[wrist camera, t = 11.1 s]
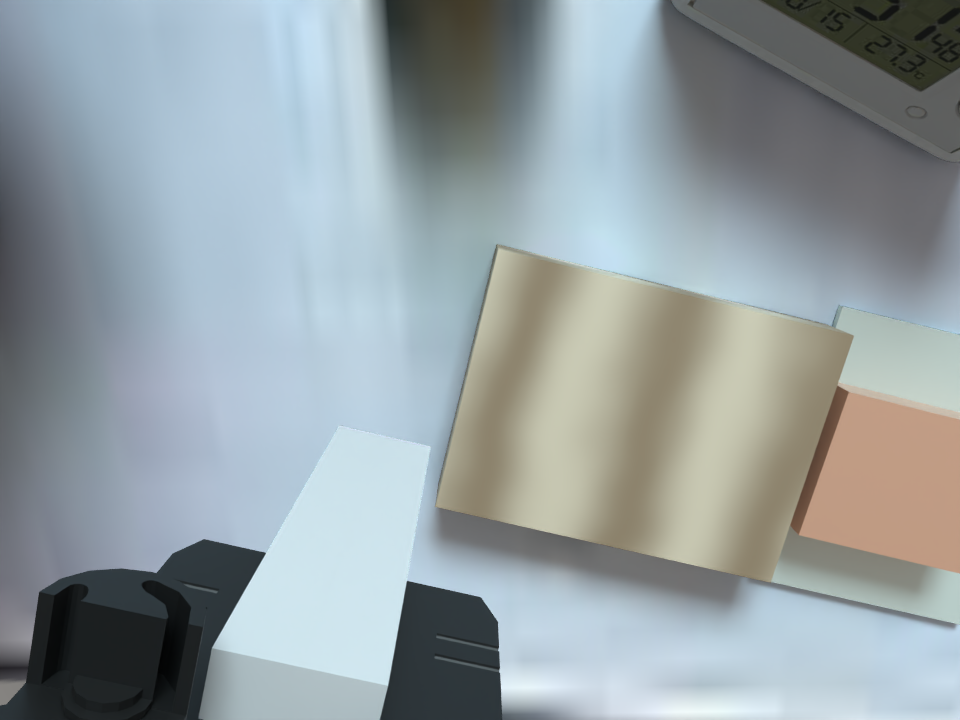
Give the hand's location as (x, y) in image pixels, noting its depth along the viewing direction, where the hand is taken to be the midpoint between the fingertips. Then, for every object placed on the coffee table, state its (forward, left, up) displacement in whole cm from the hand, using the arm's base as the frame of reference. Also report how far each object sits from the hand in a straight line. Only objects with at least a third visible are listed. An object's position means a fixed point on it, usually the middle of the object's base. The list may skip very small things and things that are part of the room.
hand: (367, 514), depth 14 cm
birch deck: (+10, -3, -26) cm, 28 cm away
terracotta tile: (+23, -3, -26) cm, 35 cm away
